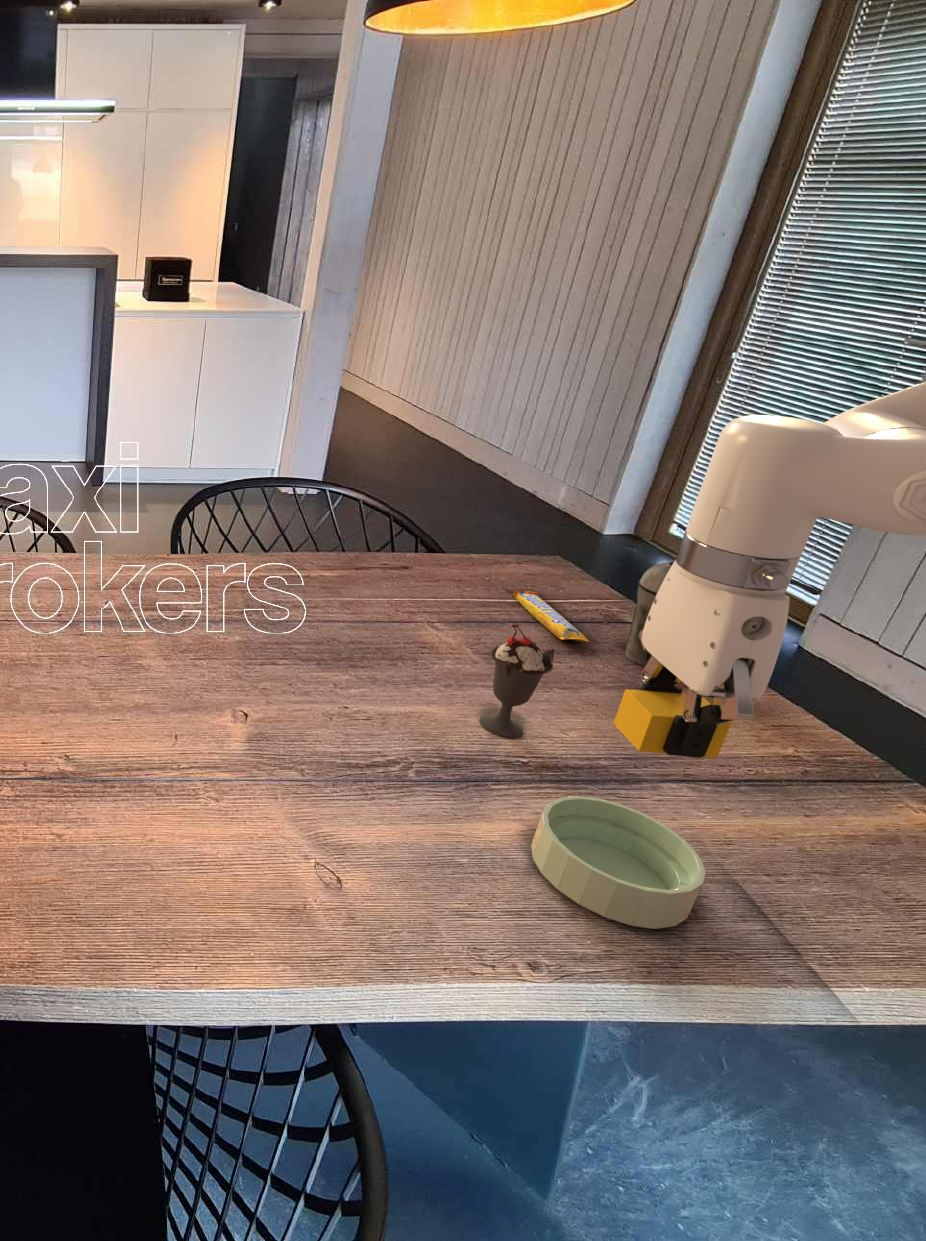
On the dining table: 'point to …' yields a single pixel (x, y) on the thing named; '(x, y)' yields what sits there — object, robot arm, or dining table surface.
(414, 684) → the dining table surface
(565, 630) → the candy bar
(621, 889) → the bowl
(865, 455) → the robot arm
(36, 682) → the dining table surface
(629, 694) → the sponge
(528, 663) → the sundae
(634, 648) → the beverage cup
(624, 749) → the dining table surface
